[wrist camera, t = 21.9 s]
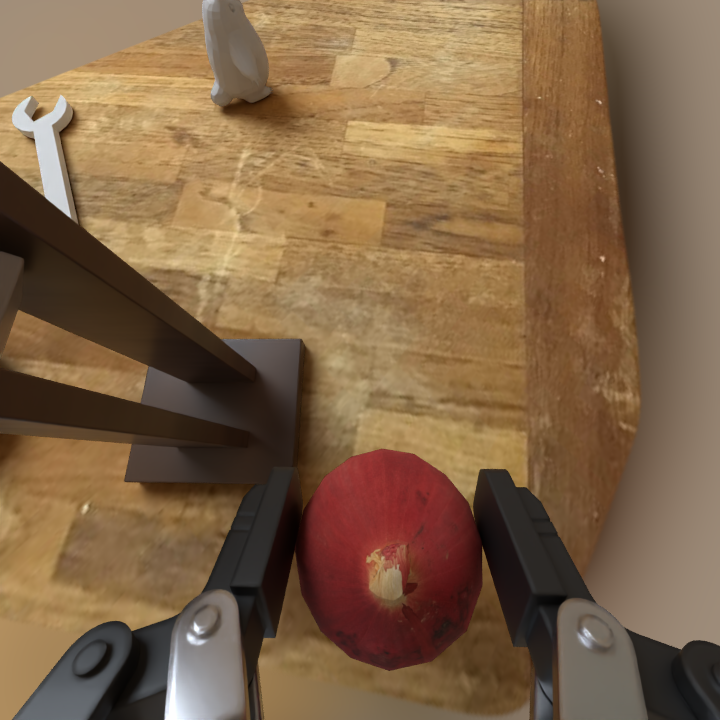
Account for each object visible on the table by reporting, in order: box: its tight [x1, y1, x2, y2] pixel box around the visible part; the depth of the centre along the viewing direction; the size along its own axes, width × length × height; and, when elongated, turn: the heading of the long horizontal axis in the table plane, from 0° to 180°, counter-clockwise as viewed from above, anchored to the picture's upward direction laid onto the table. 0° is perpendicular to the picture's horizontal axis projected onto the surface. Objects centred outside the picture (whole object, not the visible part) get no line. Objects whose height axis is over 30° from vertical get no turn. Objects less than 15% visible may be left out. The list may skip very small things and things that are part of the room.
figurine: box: [202, 0, 273, 106], centre depth 27 cm, size 8×6×8 cm
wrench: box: [12, 95, 78, 224], centre depth 27 cm, size 25×1×5 cm
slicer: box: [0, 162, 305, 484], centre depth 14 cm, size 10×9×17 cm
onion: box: [295, 449, 483, 671], centre depth 10 cm, size 6×6×8 cm
